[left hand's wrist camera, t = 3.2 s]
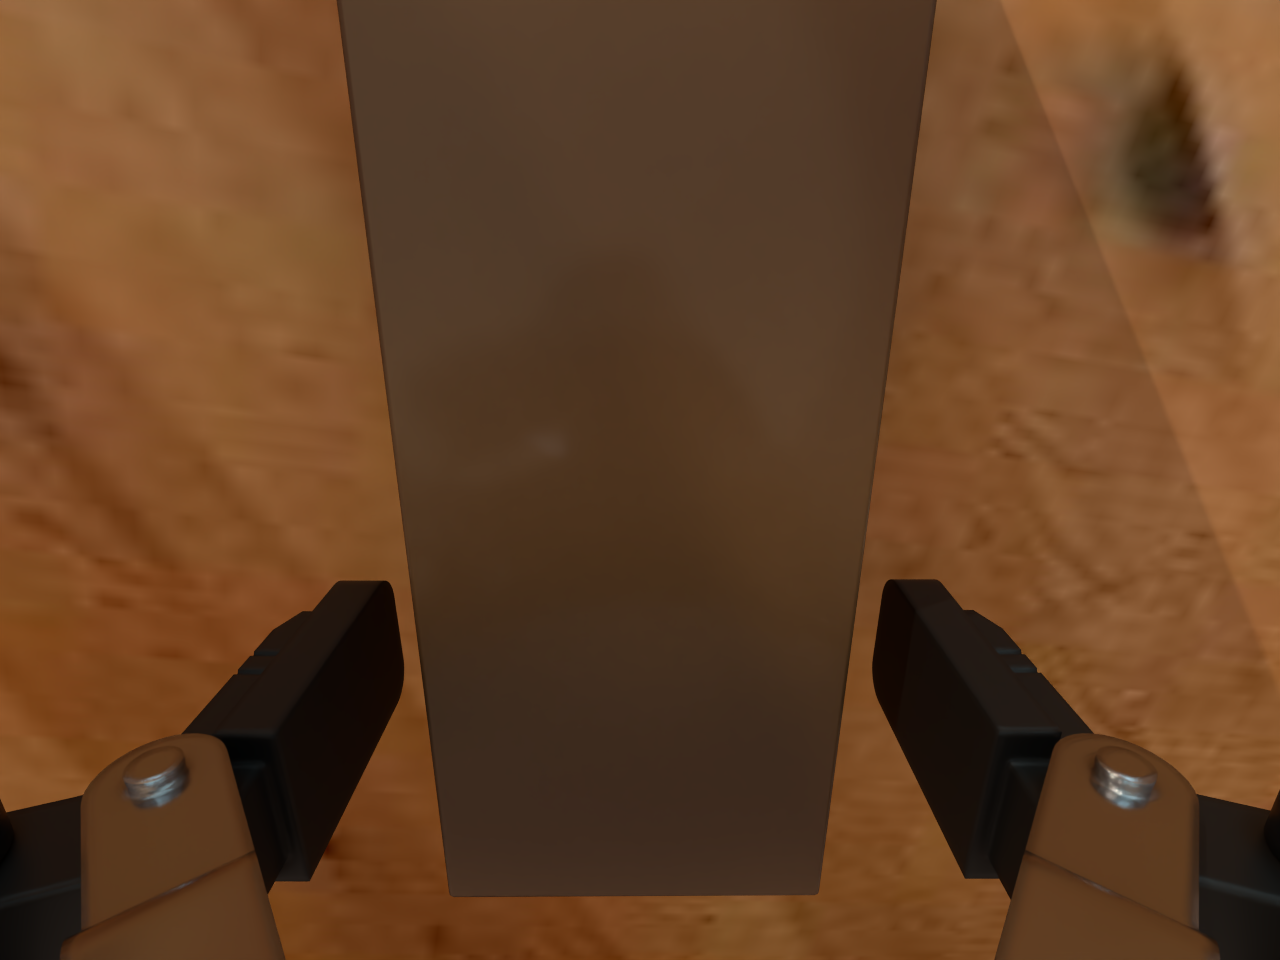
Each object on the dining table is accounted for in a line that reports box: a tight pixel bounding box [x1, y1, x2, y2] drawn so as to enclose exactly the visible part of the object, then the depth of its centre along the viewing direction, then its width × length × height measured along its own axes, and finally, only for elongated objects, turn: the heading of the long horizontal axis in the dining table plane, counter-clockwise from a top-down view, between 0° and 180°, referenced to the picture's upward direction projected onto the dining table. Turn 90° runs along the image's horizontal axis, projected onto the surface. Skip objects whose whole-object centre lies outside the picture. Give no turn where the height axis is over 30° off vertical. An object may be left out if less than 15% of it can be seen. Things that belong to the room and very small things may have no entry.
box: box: [337, 0, 937, 897], centre depth 11 cm, size 22×6×9 cm, turn 0°
